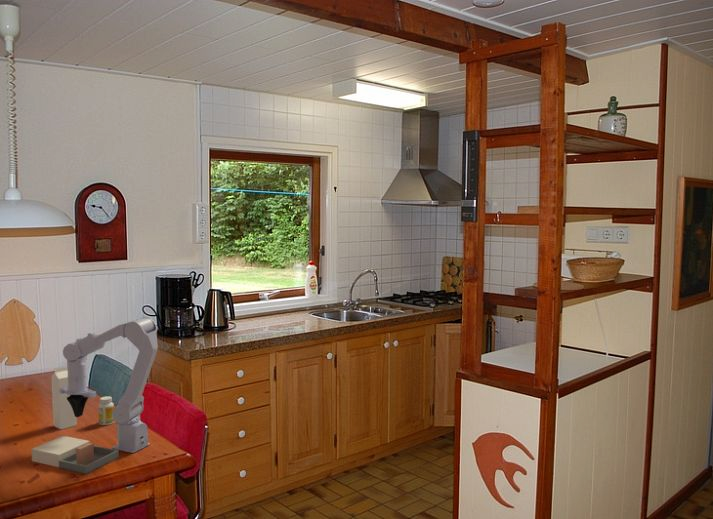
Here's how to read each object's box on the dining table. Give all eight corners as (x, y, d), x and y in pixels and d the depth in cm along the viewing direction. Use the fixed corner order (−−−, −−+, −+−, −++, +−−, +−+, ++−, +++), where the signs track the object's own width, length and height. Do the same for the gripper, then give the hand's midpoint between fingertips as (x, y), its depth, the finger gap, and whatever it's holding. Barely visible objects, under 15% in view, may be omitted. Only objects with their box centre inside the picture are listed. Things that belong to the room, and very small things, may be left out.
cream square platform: (90, 452, 199) (89, 441, 198) (59, 467, 188) (59, 454, 187) (63, 447, 203) (62, 435, 203) (32, 461, 192) (31, 448, 192)
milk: (77, 425, 224) (75, 367, 222) (60, 430, 219) (58, 370, 217) (69, 421, 227) (67, 364, 225) (52, 425, 223) (50, 367, 221)
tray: (118, 457, 195) (118, 450, 194) (86, 474, 183) (85, 466, 182) (92, 452, 199) (92, 445, 199) (59, 468, 187) (58, 460, 187)
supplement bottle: (96, 425, 223) (95, 400, 222) (101, 420, 228) (100, 395, 227) (111, 425, 223) (111, 400, 223) (116, 420, 229) (115, 395, 228)
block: (89, 457, 194) (94, 458, 193) (76, 463, 189) (81, 464, 188) (88, 442, 193) (93, 443, 193) (75, 448, 189) (80, 449, 188)
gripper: (51, 377, 204) (53, 416, 205) (83, 382, 198) (85, 422, 200) (68, 372, 211) (70, 410, 212) (100, 377, 205) (101, 416, 206)
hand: (78, 416), depth 206 cm, fingers closed
